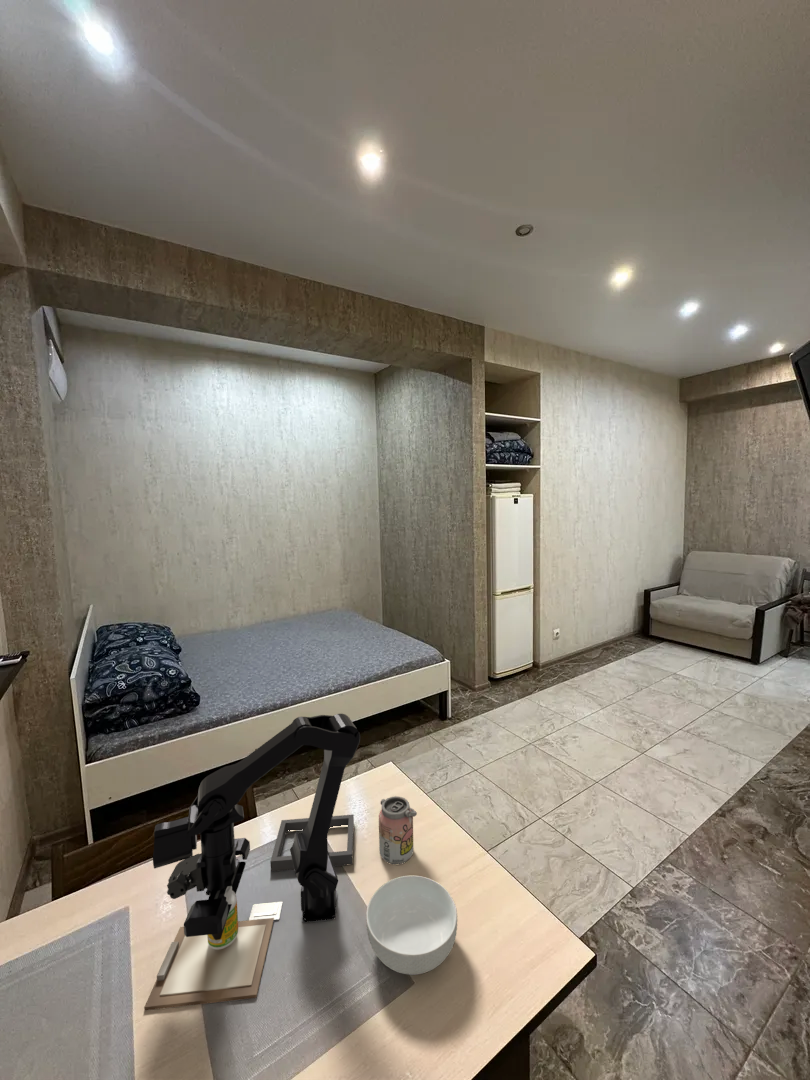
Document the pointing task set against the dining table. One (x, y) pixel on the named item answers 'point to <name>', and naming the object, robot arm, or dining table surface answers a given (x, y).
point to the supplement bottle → (227, 924)
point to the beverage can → (396, 830)
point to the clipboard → (212, 968)
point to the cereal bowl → (411, 924)
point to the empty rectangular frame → (299, 824)
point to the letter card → (266, 911)
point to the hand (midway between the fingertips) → (223, 924)
